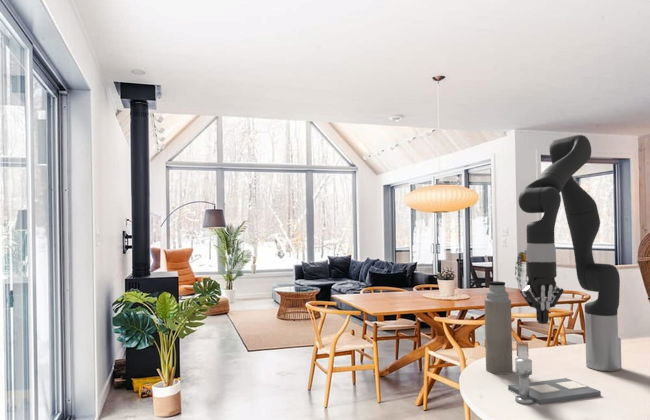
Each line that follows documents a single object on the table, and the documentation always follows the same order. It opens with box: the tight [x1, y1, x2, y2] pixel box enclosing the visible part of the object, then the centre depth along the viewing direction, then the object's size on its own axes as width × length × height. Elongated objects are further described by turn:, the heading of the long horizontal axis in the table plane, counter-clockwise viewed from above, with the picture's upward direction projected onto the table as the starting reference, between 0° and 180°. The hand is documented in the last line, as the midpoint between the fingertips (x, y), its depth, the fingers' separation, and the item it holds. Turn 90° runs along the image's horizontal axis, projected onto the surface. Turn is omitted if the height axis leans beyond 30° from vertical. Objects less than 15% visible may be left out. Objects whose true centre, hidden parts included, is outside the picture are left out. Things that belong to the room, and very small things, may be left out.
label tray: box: [507, 377, 602, 405], centre depth 132 cm, size 20×12×2 cm, turn 107°
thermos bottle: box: [484, 280, 514, 375], centre depth 153 cm, size 8×8×28 cm
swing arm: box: [514, 341, 533, 376], centre depth 134 cm, size 22×4×4 cm, turn 159°
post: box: [514, 374, 535, 405], centre depth 126 cm, size 4×4×7 cm
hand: (542, 323), depth 132 cm, fingers closed
